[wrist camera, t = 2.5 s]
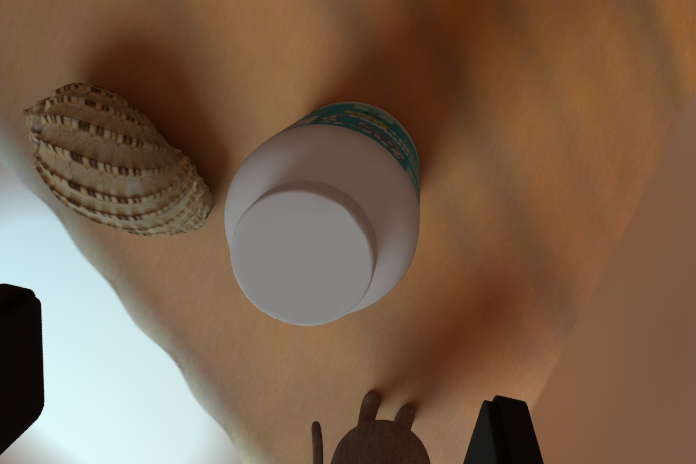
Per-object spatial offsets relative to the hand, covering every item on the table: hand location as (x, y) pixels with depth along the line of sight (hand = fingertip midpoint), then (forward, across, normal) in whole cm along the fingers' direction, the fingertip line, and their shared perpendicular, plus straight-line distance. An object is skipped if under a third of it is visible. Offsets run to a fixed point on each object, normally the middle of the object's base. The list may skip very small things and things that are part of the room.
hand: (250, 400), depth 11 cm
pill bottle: (+20, 0, 0) cm, 20 cm away
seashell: (+20, +12, +2) cm, 24 cm away
